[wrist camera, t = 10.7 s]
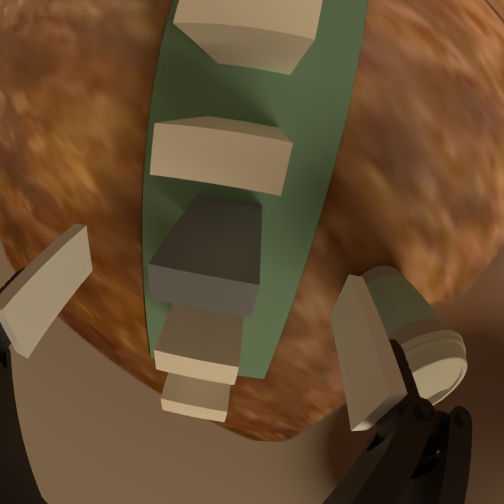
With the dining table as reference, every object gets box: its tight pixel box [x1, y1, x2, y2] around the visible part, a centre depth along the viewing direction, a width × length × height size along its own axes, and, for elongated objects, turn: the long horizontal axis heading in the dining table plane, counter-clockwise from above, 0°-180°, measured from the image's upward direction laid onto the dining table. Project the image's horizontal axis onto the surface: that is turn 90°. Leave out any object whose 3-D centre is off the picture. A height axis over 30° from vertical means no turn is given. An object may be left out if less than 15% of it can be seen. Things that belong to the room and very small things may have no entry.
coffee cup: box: [360, 266, 467, 405], centre depth 19 cm, size 8×9×12 cm
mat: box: [142, 0, 368, 379], centre depth 21 cm, size 40×14×1 cm, turn 170°
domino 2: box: [150, 116, 293, 196], centre depth 14 cm, size 2×5×10 cm, turn 80°
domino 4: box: [161, 372, 230, 422], centre depth 22 cm, size 2×5×10 cm, turn 80°
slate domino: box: [148, 195, 262, 318], centre depth 17 cm, size 2×5×10 cm, turn 80°
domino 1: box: [173, 0, 323, 75], centre depth 11 cm, size 2×5×10 cm, turn 79°
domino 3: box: [154, 304, 244, 385], centre depth 19 cm, size 2×5×10 cm, turn 80°
